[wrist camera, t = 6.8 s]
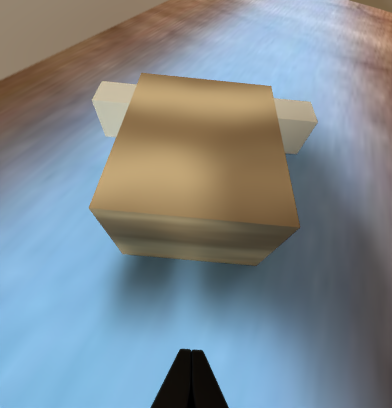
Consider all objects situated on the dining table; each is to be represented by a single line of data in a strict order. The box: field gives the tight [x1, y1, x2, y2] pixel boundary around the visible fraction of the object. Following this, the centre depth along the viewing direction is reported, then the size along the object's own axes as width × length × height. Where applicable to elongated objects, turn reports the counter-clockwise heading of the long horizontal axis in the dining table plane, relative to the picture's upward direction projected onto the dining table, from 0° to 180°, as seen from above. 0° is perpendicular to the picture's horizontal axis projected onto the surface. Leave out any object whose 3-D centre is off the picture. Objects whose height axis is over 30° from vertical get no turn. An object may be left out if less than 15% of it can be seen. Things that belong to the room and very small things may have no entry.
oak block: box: [89, 73, 300, 266], centre depth 16 cm, size 12×10×7 cm
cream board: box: [92, 81, 318, 154], centre depth 21 cm, size 3×20×4 cm, turn 86°
